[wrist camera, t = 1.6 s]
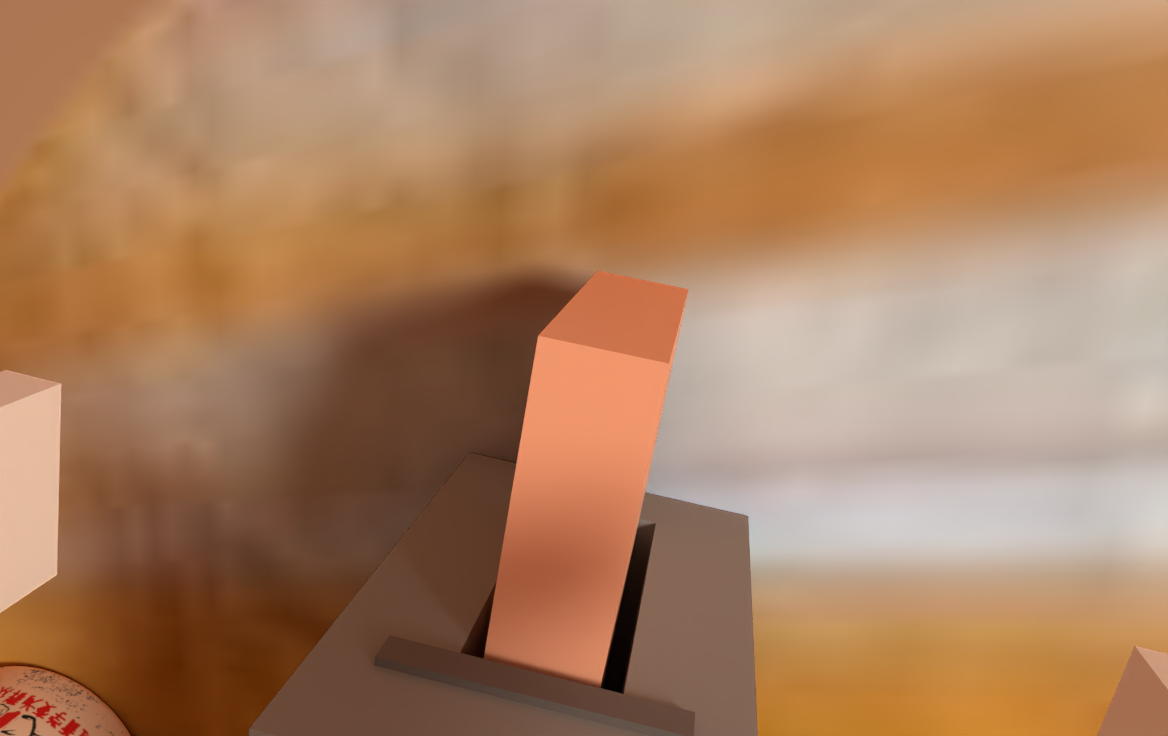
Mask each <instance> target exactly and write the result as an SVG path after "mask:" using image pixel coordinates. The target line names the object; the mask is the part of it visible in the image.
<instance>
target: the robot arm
mask: <svg viewBox="0 0 1168 736" xmlns="http://www.w3.org/2000/svg"><path fill="white" fill-rule="evenodd" d="M60 418H61V383H58V382H54V381H49V380H45V379H41V378H37V377H33V376H29V375H25V374H21V373H17V372H13V371H9V370H4V371H2V372H0V613H1V612H3V611H4V610H6V609H7V608H8V607H10V606H11V605H13V604H14V603H16V602H17V601H19V600H20V599H22V598H23V597H25V596H26V595H28V594H29V593H31V592H32V591H34V590H35V589H37V588H38V587H40V586H41V585H43V584H44V583H46V582H47V581H49V580H50V579H52V578H53V577H55V576H56V575H57V554H58V509H59V464H60ZM1097 736H1168V654H1166V653H1162V652H1158V651H1154V650H1150V649H1146V648H1142V647H1138V646H1134V649H1133V651H1132V653H1131V656H1130V658H1129V661H1128V663H1127V665H1126V668H1125V670H1124V672H1123V675H1122V677H1121V680H1120V682H1119V684H1118V687H1117V689H1116V692H1115V694H1114V696H1113V699H1112V701H1111V703H1110V706H1109V708H1108V711H1107V713H1106V715H1105V718H1104V720H1103V722H1102V725H1101V727H1100V730H1099V732H1098V734H1097Z"/></svg>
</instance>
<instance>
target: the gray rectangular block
mask: <svg viewBox="0 0 1168 736" xmlns="http://www.w3.org/2000/svg"><path fill="white" fill-rule="evenodd" d="M516 464H517V463H513V462H509V461H504V460H500V459H496V458H491V457H487V456H483V455H478V454H474V453H469V454H468V455H467V457H466V458H465V459H464V460H463V462H462V463H461V464H460V465H459V467H458V468H457V469H456V470H455V472H454V473H453V474H452V475H451V477H450V478H449V479H448V480H447V482H446V483H445V484H444V485H443V487H442V488H441V489H440V490H439V492H438V493H437V494H436V495H435V497H434V498H433V499H432V500H431V502H430V503H429V504H428V505H427V507H426V508H425V509H424V510H423V512H422V513H421V514H420V515H419V517H418V518H417V519H416V520H415V522H414V523H413V524H412V525H411V527H410V528H409V529H408V530H407V532H406V533H405V534H404V535H403V537H402V538H401V539H400V540H399V542H398V543H397V544H396V545H395V547H394V548H393V549H392V550H391V552H390V553H389V554H388V555H387V557H386V558H385V559H384V560H383V562H382V563H381V564H380V565H379V567H378V568H377V569H376V570H375V572H374V573H373V574H372V575H371V577H370V578H369V579H368V580H367V582H366V583H365V584H364V585H363V587H362V588H361V589H360V590H359V592H358V593H357V594H356V595H355V597H354V598H353V599H352V600H351V602H350V603H349V604H348V605H347V607H346V608H345V609H344V610H343V612H342V613H341V614H340V615H339V617H338V618H337V619H336V620H335V622H334V623H333V624H332V625H331V627H330V628H329V629H328V630H327V632H326V633H325V634H324V635H323V637H322V638H321V639H320V640H319V642H318V643H317V644H316V645H315V647H314V648H313V649H312V650H311V652H310V653H309V654H308V655H307V657H306V658H305V659H304V660H303V662H302V663H301V664H300V665H299V667H298V668H297V669H296V670H295V672H294V673H293V674H292V675H291V677H290V678H289V679H288V680H287V682H286V683H285V684H284V685H283V687H282V688H281V689H280V690H279V692H278V693H277V694H276V695H275V697H274V698H273V699H272V700H271V702H270V703H269V704H268V705H267V707H266V708H265V709H264V710H263V712H262V713H261V714H260V716H259V717H258V718H257V719H256V721H255V722H254V723H253V724H252V726H251V727H250V728H249V736H758V731H757V709H756V686H755V663H754V640H753V617H752V595H751V572H750V549H749V526H748V516H745V515H741V514H736V513H732V512H728V511H723V510H719V509H715V508H710V507H706V506H701V505H697V504H693V503H688V502H684V501H680V500H675V499H671V498H666V497H662V496H658V495H653V494H649V493H645V495H644V499H643V504H642V509H641V513H640V518H639V523H638V527H637V532H636V537H635V541H634V546H633V551H632V555H631V560H630V565H629V570H628V574H627V579H626V584H625V588H624V593H623V598H622V602H621V607H620V612H619V616H618V621H617V626H616V630H615V635H614V640H613V644H612V649H611V654H610V658H609V663H608V668H607V673H606V677H605V682H604V687H603V689H602V688H598V687H594V686H590V685H586V684H582V683H578V682H574V681H570V680H566V679H562V678H558V677H554V676H550V675H546V674H542V673H538V672H534V671H530V670H526V669H522V668H518V667H514V666H510V665H506V664H502V663H498V662H494V661H491V660H487V659H484V653H485V647H486V641H487V636H488V630H489V624H490V618H491V612H492V606H493V600H494V594H495V588H496V582H497V576H498V570H499V564H500V558H501V552H502V547H503V541H504V535H505V529H506V523H507V517H508V511H509V505H510V499H511V493H512V487H513V481H514V475H515V469H516Z"/></svg>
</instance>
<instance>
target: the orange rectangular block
mask: <svg viewBox="0 0 1168 736" xmlns="http://www.w3.org/2000/svg"><path fill="white" fill-rule="evenodd" d="M687 293H688V289H684V288H679V287H674V286H670V285H665V284H660V283H655V282H650V281H645V280H640V279H635V278H630V277H626V276H621V275H616V274H611V273H606V272H601V271H597V272H596V273H595V274H594V275H593V276H592V277H591V279H590V280H589V281H588V282H587V283H586V284H585V285H584V286H583V287H582V288H581V289H580V291H579V292H578V293H577V294H576V295H575V296H574V297H573V298H572V299H571V300H570V301H569V303H568V304H567V305H566V306H565V307H564V308H563V309H562V310H561V311H560V312H559V313H558V314H557V316H556V317H555V318H554V319H553V320H552V321H551V322H550V323H549V324H548V325H547V326H546V328H545V329H544V330H543V331H542V332H541V333H540V334H539V335H538V339H537V345H536V351H535V357H534V363H533V369H532V375H531V381H530V386H529V392H528V398H527V404H526V410H525V416H524V422H523V428H522V434H521V440H520V446H519V452H518V458H517V464H516V469H515V475H514V481H513V487H512V493H511V499H510V505H509V511H508V517H507V523H506V529H505V535H504V541H503V547H502V552H501V558H500V564H499V570H498V576H497V582H496V588H495V594H494V600H493V606H492V612H491V618H490V624H489V630H488V636H487V641H486V647H485V653H484V659H487V660H491V661H494V662H498V663H502V664H506V665H510V666H514V667H518V668H522V669H526V670H530V671H534V672H538V673H542V674H546V675H550V676H554V677H558V678H562V679H566V680H570V681H574V682H578V683H582V684H586V685H590V686H594V687H598V688H602V689H603V687H604V682H605V677H606V673H607V668H608V663H609V658H610V654H611V649H612V644H613V640H614V635H615V630H616V626H617V621H618V616H619V612H620V607H621V602H622V598H623V593H624V588H625V584H626V579H627V574H628V570H629V565H630V560H631V555H632V551H633V546H634V541H635V537H636V532H637V527H638V523H639V518H640V513H641V509H642V504H643V499H644V495H645V490H646V485H647V481H648V476H649V471H650V467H651V462H652V457H653V453H654V448H655V443H656V438H657V434H658V429H659V424H660V420H661V415H662V410H663V406H664V401H665V396H666V392H667V387H668V382H669V378H670V373H671V368H672V364H673V359H674V354H675V350H676V345H677V340H678V335H679V331H680V326H681V321H682V317H683V312H684V307H685V303H686V298H687Z"/></svg>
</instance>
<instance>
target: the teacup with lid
mask: <svg viewBox="0 0 1168 736" xmlns="http://www.w3.org/2000/svg"><path fill="white" fill-rule="evenodd" d="M0 736H131V735H130V734H129V732H128V730H127V729H126V727H125V726H124V724H123V723H122V722H121V720H120V719H119V718H118V717H117V715H116V714H115V713H114V712H113V711H112V710H111V709H110V708H109V707H108V706H107V705H106V704H105V703H104V702H103V701H102V700H101V699H100V698H98V697H97V696H96V695H95V694H93V693H92V692H91V691H89V690H88V689H87V688H85V687H83V686H82V685H80V684H78V683H77V682H75V681H73V680H71V679H69V678H67V677H65V676H62V675H60V674H57V673H54V672H51V671H48V670H44V669H39V668H34V667H26V666H6V667H0Z"/></svg>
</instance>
